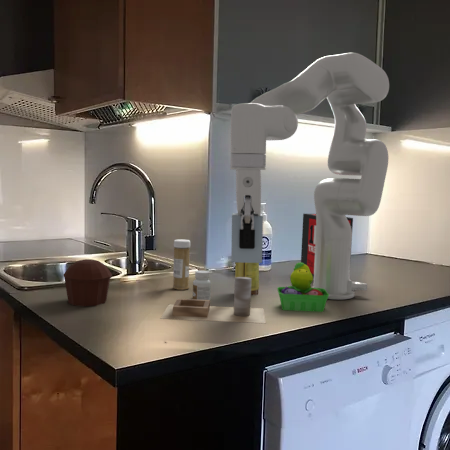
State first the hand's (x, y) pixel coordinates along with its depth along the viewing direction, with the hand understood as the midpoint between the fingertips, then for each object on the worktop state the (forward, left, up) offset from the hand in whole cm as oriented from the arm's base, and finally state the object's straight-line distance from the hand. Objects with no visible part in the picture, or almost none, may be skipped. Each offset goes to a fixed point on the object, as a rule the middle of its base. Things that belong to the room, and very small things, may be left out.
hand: (246, 244), depth 110 cm
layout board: (+7, +1, -16) cm, 18 cm away
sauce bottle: (0, -22, -16) cm, 28 cm away
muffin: (+38, -8, -17) cm, 42 cm away
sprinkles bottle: (+18, -27, -17) cm, 36 cm away
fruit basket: (-13, -8, -17) cm, 23 cm away
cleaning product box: (-25, -52, -17) cm, 61 cm away
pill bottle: (+11, -12, -17) cm, 23 cm away
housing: (0, 0, -3) cm, 3 cm away
